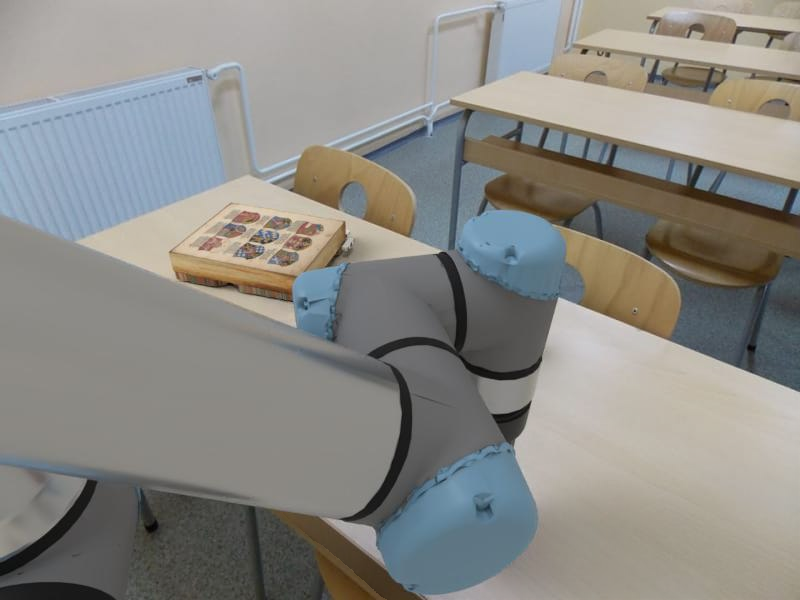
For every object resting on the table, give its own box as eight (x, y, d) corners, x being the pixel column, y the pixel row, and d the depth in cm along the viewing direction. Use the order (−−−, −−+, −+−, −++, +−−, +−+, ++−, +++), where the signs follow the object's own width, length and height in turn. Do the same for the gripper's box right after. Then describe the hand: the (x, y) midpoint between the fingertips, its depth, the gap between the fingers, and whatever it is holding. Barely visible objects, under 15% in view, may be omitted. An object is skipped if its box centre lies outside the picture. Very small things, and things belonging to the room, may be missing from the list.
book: (359, 243, 112) (242, 222, 117) (358, 216, 108) (238, 196, 113) (313, 309, 92) (176, 281, 98) (311, 279, 89) (168, 252, 94)
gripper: (505, 319, 52) (479, 462, 66) (387, 425, 41) (385, 571, 55) (574, 351, 49) (532, 496, 62) (466, 478, 37) (442, 621, 51)
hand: (463, 531), depth 58 cm, fingers closed on beverage can, 5 cm apart
